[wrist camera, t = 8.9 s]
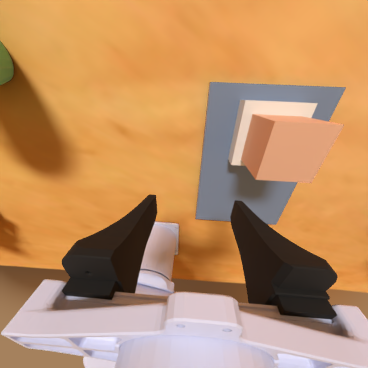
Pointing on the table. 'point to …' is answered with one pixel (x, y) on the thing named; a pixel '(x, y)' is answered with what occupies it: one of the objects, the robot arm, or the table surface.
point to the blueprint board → (239, 176)
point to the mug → (5, 65)
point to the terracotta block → (287, 147)
